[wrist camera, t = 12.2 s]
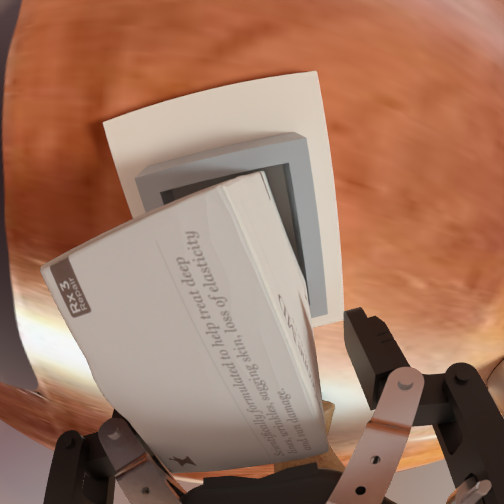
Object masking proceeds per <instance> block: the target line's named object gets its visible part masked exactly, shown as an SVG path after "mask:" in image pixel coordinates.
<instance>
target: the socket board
mask: <svg viewBox="0 0 504 504" xmlns="http://www.w3.org/2000/svg"><path fill="white" fill-rule="evenodd" d="M103 126H104V129H105V133H106V136H107V140H108V143H109V147H110V150H111V153H112V157H113V160H114V163H115V167H116V170H117V173H118V176H119V179H120V182H121V185H122V188H123V191H124V194H125V197H126V200H127V203H128V206H129V209H130V212H131V215H132V218H133V219H134V218H136V217H138V216H140V215H143V214H145V213H147V212H149V211H151V210H154V209H156V208H158V207H161V206H163V205H166V204H168V203H170V202H173V201H175V200H178V199H180V198H182V197H185V196H187V195H190V194H192V193H195V192H198V191H200V190H203V189H205V188H208V187H211V186H213V185H216V184H219V183H222V182H224V181H227V180H230V179H234V178H236V177H238V176H242V175H248V174H252V173H255V172H258V171H261V170H265V171H266V174H267V176H268V179H269V183H270V186H271V190H272V193H273V196H274V199H275V202H276V205H277V207H278V210H279V213H280V216H281V219H282V222H283V225H284V227H285V230H286V233H287V236H288V238H289V241H290V243H291V246H292V248H293V251H294V253H295V256H296V259H297V261H298V264H299V266H300V267H301V269H302V272H303V274H304V278H305V282H306V288H307V296H308V302H309V309H310V314H311V320H312V327H313V328H314V327H318V326H322V325H326V324H330V323H334V322H338V321H342V320H344V318H343V313H344V297H343V277H342V261H341V248H340V235H339V224H338V213H337V203H336V194H335V185H334V177H333V169H332V161H331V154H330V147H329V140H328V133H327V127H326V120H325V114H324V108H323V102H322V97H321V91H320V86H319V80H318V75H317V71H311V72H303V73H295V74H288V75H281V76H275V77H268V78H263V79H257V80H251V81H246V82H241V83H236V84H231V85H227V86H222V87H218V88H213V89H209V90H205V91H201V92H197V93H193V94H189V95H186V96H182V97H178V98H175V99H171V100H168V101H164V102H161V103H158V104H154V105H151V106H148V107H145V108H142V109H139V110H136V111H133V112H130V113H127V114H124V115H121V116H119V117H116V118H113V119H110V120H108V121H105V122H103Z"/></svg>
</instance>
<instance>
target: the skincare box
mask: <svg viewBox="0 0 504 504" xmlns="http://www.w3.org/2000/svg"><path fill="white" fill-rule="evenodd" d="M40 272H41V275H42V277H43V279H44V281H45V283H46V285H47V287H48V289H49V291H50V293H51V295H52V297H53V299H54V301H55V303H56V305H57V307H58V309H59V311H60V313H61V315H62V317H63V319H64V320H65V322H66V324H67V326H68V328H69V330H70V332H71V333H72V335H73V337H74V339H75V341H76V342H77V344H78V346H79V348H80V349H81V351H82V353H83V354H84V356H85V358H86V360H87V362H88V365H89V367H90V370H91V373H92V375H93V378H94V380H95V382H96V384H97V386H98V388H99V389H100V391H101V393H102V394H103V395H104V397H105V398H106V400H107V401H108V402H109V403H110V404H111V406H112V407H113V408H114V409H115V410H117V411H118V412H119V413H120V414H121V415H122V416H123V417H124V418H126V419H127V420H128V421H129V423H130V424H131V425H132V427H133V428H134V429H135V430H136V432H137V433H138V434H139V435H140V437H141V438H142V439H143V440H144V442H145V443H146V444H147V446H148V447H149V448H150V449H151V451H152V452H153V453H154V454H155V455H156V456H157V458H158V459H159V460H160V461H161V462H162V463H163V465H164V466H165V467H166V468H167V469H168V470H169V471H170V472H171V473H184V472H208V471H220V470H229V469H237V468H244V467H252V466H259V465H266V464H272V463H280V462H287V461H294V460H300V459H305V458H309V457H313V456H317V455H320V454H324V453H326V452H328V451H329V445H328V441H327V434H326V426H325V419H324V411H323V404H322V395H321V387H320V379H319V371H318V364H317V356H316V349H315V341H314V334H313V327H312V320H311V314H310V309H309V302H308V296H307V288H306V282H305V278H304V274H303V272H302V269H301V267H300V266H299V264H298V261H297V259H296V256H295V253H294V251H293V248H292V246H291V243H290V241H289V238H288V236H287V233H286V230H285V227H284V225H283V222H282V219H281V216H280V213H279V210H278V207H277V205H276V202H275V199H274V196H273V193H272V190H271V186H270V183H269V179H268V176H267V174H266V171H265V170H261V171H258V172H255V173H252V174H248V175H242V176H238V177H236V178H234V179H230V180H227V181H224V182H222V183H219V184H216V185H213V186H211V187H208V188H205V189H203V190H200V191H198V192H195V193H192V194H190V195H187V196H185V197H182V198H180V199H178V200H175V201H173V202H170V203H168V204H166V205H163V206H161V207H158V208H156V209H154V210H151V211H149V212H147V213H145V214H143V215H140V216H138V217H136V218H134V219H132V220H129V221H127V222H125V223H123V224H121V225H119V226H117V227H115V228H113V229H110V230H108V231H106V232H104V233H102V234H100V235H98V236H96V237H94V238H92V239H90V240H88V241H86V242H85V243H83V244H81V245H79V246H77V247H75V248H73V249H71V250H69V251H67V252H66V253H64V254H62V255H60V256H58V257H56V258H54V259H53V260H51V261H49V262H47V263H45V264H44V265H42V266H41V269H40Z"/></svg>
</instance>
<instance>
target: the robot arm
mask: <svg viewBox="0 0 504 504" xmlns="http://www.w3.org/2000/svg"><path fill="white" fill-rule="evenodd" d="M343 318H344V340H345V346H346V349H347V352H348V355H349V357H350V359H351V362H352V364H353V367H354V369H355V372H356V374H357V377H358V379H359V382H360V384H361V387H362V389H363V392H364V394H365V397H366V399H367V402H368V405H369V407H370V410H374V409H376V410H375V412H374V415H373V417H372V419H371V421H369V422H368V423H367V425H366V427H365V429H364V432H363V434H362V436H361V438H360V440H359V442H358V444H357V447H356V449H355V451H354V453H353V455H352V457H351V459H350V461H349V463H348V465H347V467H346V468H345V470H344V472H342V471H338V470H334V469H328V468H318V466H317V462H314V463H309V464H304V465H299V466H294V467H289V468H286V469H284V470H281V471H279V472H276V473H274V474H271V475H269V476H266V477H263V478H259V479H256V478H246V477H237V476H221V477H208V478H204V479H203V485H200V486H198V487H196V488H194V489H192V490H190V491H188V492H186V491H185V490H184V489H183V488H182V487H181V486H180V485H179V483H178V482H177V481H176V480H175V479H174V477H173V476H172V475H171V474H170V472H169V471H168V470H167V468H166V467H165V466H164V465H163V463H162V462H161V461H160V460H159V459H158V458H157V456H156V455H155V454H154V453H153V452H152V451H151V449H150V448H149V447H148V446H147V444H146V443H145V442H144V440H143V439H142V438H141V437H140V435H139V434H138V433H137V432H136V430H135V429H134V428H133V427H132V425H131V424H130V423H129V421H128V420H127V419H126V418H124V417H123V416H122V415H121V414H120V413H119V412H118V411H117V410H115V409H114V411H113V415H112V418H111V419H109V420H107V421H105V422H104V423H103V424H102V425H101V427H100V428H99V431H98V432H96V433H93V434H89V435H86V436H81V435H80V434H79V433H78V432H77V431H74V430H70V431H67V432H65V433H63V434H62V435H61V436H60V437H59V438H58V440H57V443H56V447H55V451H54V455H53V459H52V464H51V468H50V473H49V477H48V482H47V487H46V492H45V497H44V503H43V504H113V500H114V489H115V479H116V480H117V482H118V484H119V485H120V487H121V489H122V490H123V492H124V494H125V495H126V497H127V498H128V500H129V502H130V503H131V504H397V503H395V502H393V501H391V500H389V499H388V498H386V497H385V494H386V492H387V489H388V487H389V485H390V483H391V481H392V478H393V475H394V473H395V471H396V469H397V466H398V464H399V461H400V458H401V456H402V453H403V451H404V448H405V445H406V442H407V440H408V437H409V434H410V430H411V427H412V426H425V425H432V426H433V428H434V431H435V433H436V436H437V438H438V441H439V444H440V446H441V449H442V451H443V454H444V457H445V460H446V462H447V465H448V468H449V471H450V474H451V476H452V479H453V482H454V485H455V488H456V490H455V491H454V492H453V493H452V494H451V495H450V496H449V498H448V500H447V502H446V504H504V419H503V417H504V360H503V361H502V362H501V363H500V364H499V365H498V366H497V367H496V368H495V370H494V371H493V372H492V374H491V375H490V377H489V379H488V382H487V386H488V389H487V387H486V386H485V384H484V382H483V380H482V379H481V377H480V375H479V374H478V372H477V370H476V369H475V368H474V367H473V366H472V365H470V364H467V363H455V364H453V365H451V366H450V367H449V368H448V369H447V371H446V373H443V374H431V375H427V374H421V372H419V371H418V370H417V369H415V368H412V367H410V365H409V364H408V362H407V360H406V358H405V357H404V355H403V353H402V351H401V350H400V348H399V346H398V344H397V343H396V341H395V340H394V337H393V336H392V334H391V333H390V331H389V329H388V327H387V326H386V324H385V322H383V321H382V320H381V319H379V318H378V317H376V316H373V317H369V318H367V316H366V314H365V312H364V311H363V309H362V308H361V307H359V308H355V309H351V310H348V311H344V313H343ZM499 410H500V411H499ZM500 412H501V413H500ZM501 414H502V415H503V417H502V415H501ZM84 474H85V475H84ZM83 480H84V481H83ZM82 487H83V488H82Z"/></svg>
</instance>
